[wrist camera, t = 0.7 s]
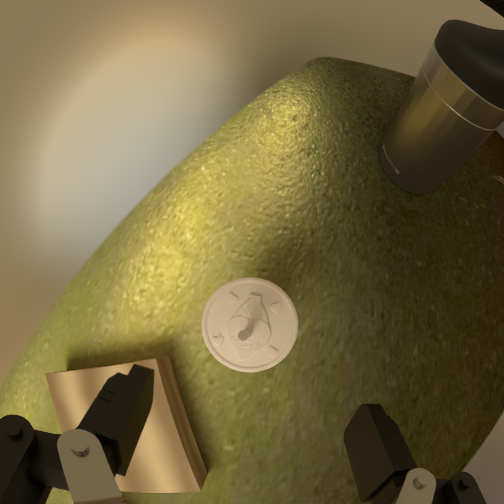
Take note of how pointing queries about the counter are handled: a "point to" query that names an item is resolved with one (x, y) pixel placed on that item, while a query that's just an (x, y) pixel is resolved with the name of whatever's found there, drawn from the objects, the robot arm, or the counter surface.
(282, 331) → the smoothie
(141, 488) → the riser
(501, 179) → the knife
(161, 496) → the counter surface
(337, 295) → the counter surface
